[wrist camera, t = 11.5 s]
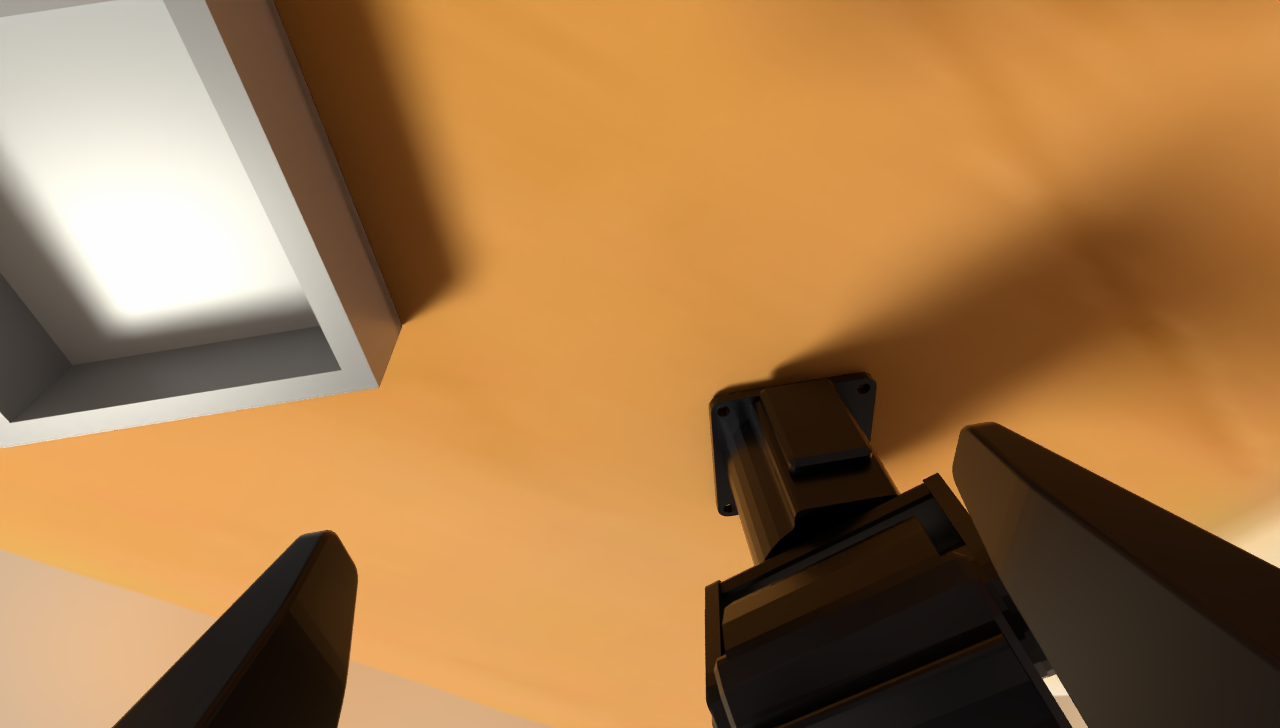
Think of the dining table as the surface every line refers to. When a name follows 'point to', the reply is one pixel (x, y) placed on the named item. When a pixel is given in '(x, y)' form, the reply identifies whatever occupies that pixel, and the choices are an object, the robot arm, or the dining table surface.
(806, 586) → the robot arm
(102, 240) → the tray
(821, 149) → the dining table surface
